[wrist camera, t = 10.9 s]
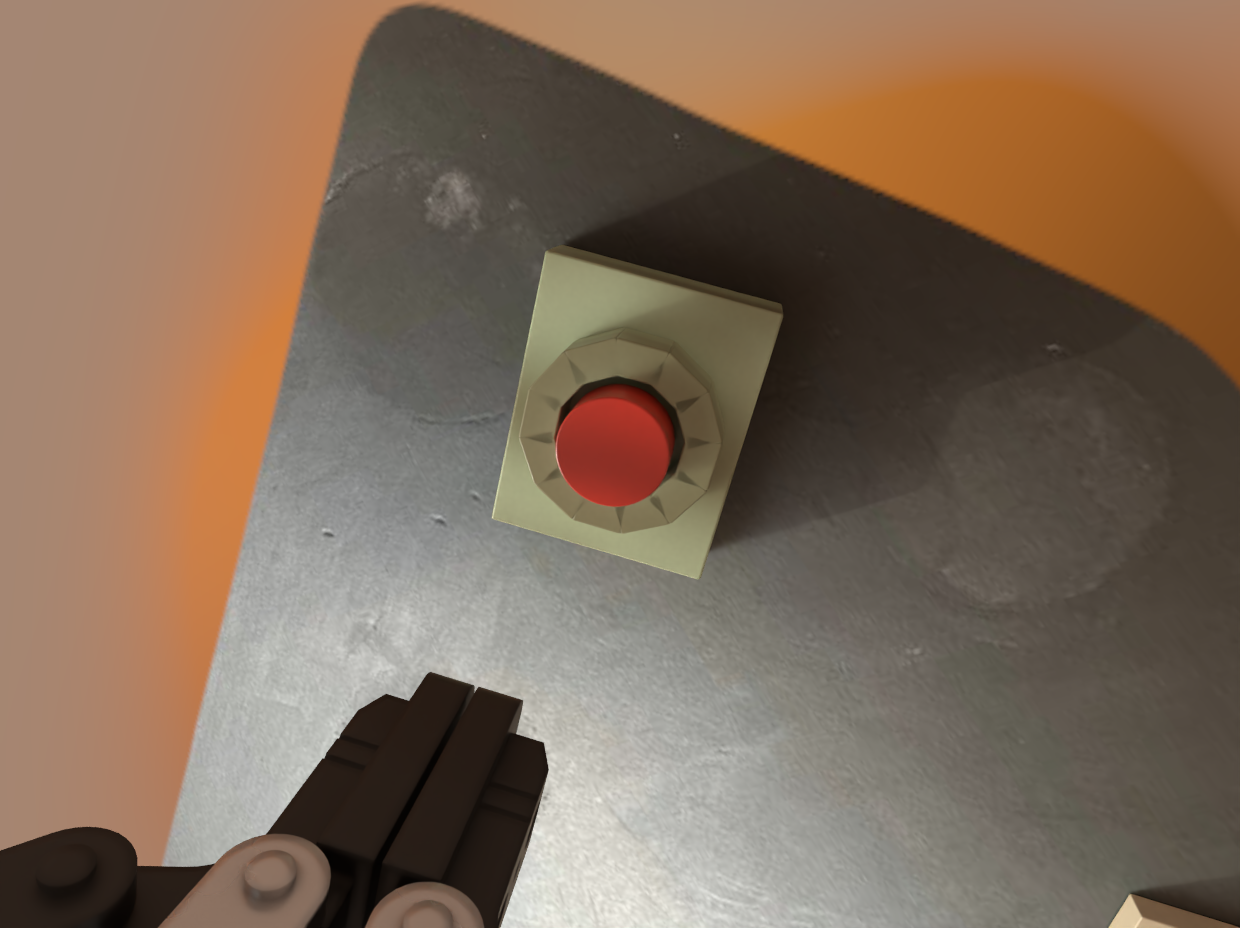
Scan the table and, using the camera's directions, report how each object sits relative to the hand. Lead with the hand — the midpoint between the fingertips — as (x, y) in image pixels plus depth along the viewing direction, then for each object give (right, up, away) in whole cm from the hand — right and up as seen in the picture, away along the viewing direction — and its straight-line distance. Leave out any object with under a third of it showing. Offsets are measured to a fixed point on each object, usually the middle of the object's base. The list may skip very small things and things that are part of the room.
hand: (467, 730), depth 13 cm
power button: (+2, +5, +14) cm, 15 cm away
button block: (+3, +6, +18) cm, 19 cm away
